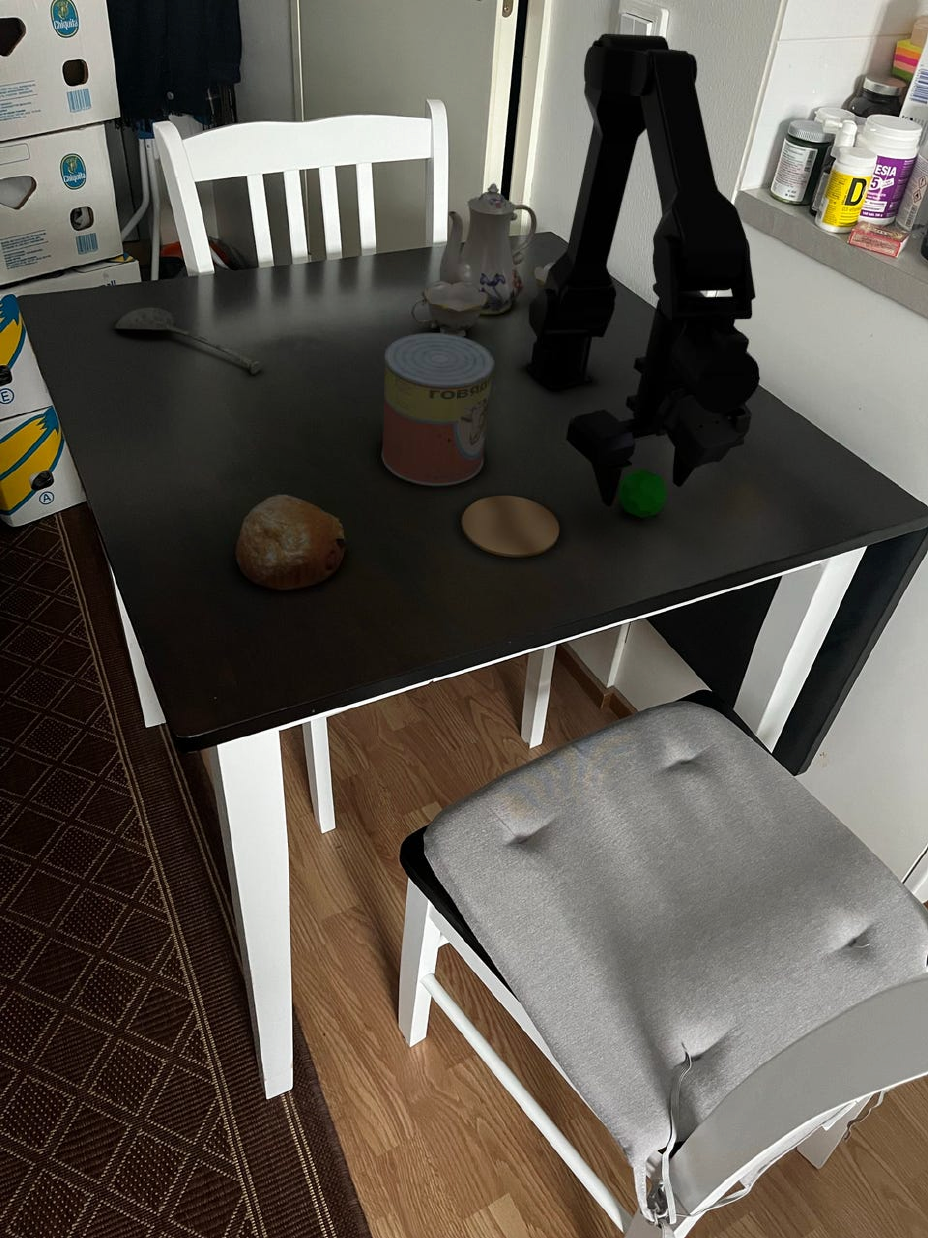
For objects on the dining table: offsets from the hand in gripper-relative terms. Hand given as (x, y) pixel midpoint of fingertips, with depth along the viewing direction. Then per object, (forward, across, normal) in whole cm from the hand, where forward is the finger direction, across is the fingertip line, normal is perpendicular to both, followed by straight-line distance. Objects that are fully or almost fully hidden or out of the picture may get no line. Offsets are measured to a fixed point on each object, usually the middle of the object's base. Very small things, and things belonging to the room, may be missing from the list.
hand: (642, 494), depth 103 cm
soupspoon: (+2, -32, +51) cm, 61 cm away
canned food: (+2, -16, +18) cm, 24 cm away
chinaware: (+2, +10, +47) cm, 48 cm away
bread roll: (+2, -36, +7) cm, 37 cm away
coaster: (+2, -14, +3) cm, 15 cm away
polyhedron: (+2, 0, 0) cm, 2 cm away
